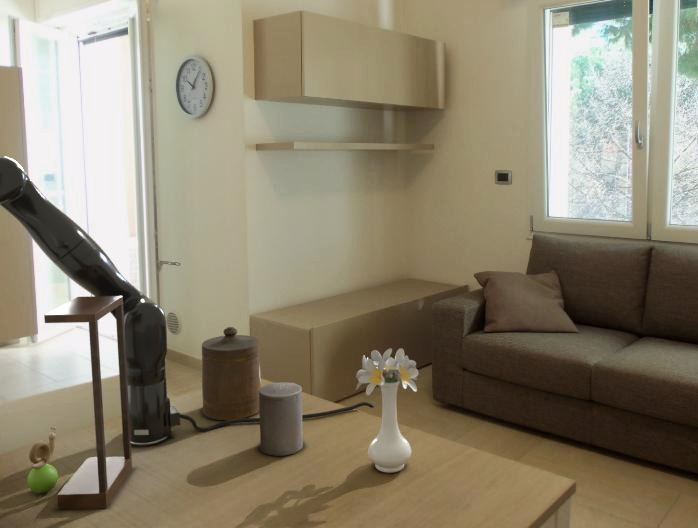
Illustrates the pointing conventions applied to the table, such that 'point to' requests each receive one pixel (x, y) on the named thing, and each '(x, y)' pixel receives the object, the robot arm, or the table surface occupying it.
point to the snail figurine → (42, 466)
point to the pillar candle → (280, 418)
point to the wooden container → (230, 376)
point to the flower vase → (388, 406)
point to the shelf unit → (97, 409)
